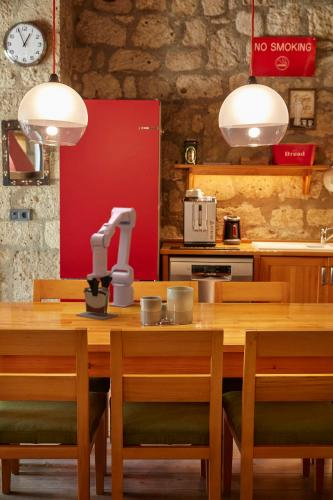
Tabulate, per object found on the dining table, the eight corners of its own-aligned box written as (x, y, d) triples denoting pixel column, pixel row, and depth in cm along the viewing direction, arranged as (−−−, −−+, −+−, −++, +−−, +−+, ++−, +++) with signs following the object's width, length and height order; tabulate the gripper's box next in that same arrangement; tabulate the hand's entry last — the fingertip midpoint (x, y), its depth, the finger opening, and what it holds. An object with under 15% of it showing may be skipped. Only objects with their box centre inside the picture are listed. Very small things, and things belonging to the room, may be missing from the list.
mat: (91, 311, 237) (91, 310, 236) (117, 315, 230) (117, 314, 230) (76, 315, 228) (76, 314, 228) (103, 320, 221) (103, 319, 221)
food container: (116, 312, 230) (116, 289, 229) (107, 315, 225) (107, 291, 223) (92, 308, 236) (92, 285, 235) (83, 311, 231) (83, 287, 229)
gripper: (97, 265, 220) (96, 298, 221) (118, 261, 232) (117, 293, 234) (83, 263, 223) (82, 296, 225) (104, 260, 236) (104, 291, 237)
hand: (99, 294), depth 229 cm, fingers closed on food container, 6 cm apart
